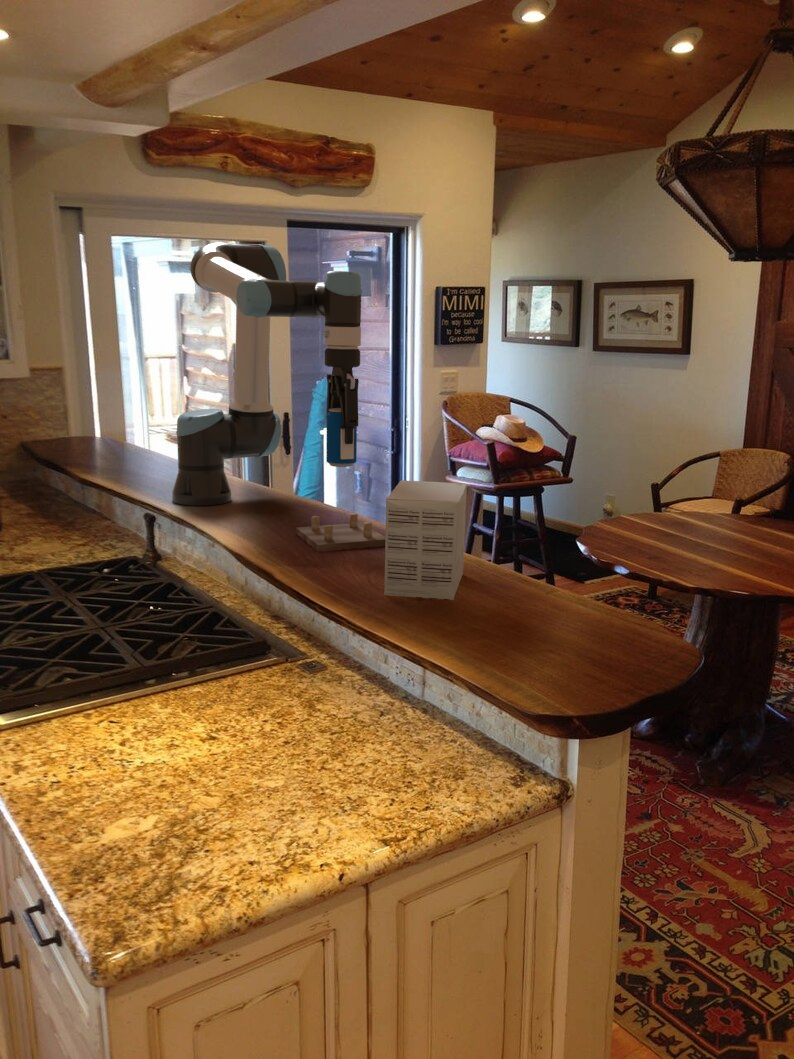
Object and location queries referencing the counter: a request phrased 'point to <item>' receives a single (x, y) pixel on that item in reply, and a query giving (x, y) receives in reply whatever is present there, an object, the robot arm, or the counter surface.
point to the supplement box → (425, 539)
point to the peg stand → (341, 535)
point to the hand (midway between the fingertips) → (341, 456)
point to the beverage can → (337, 440)
